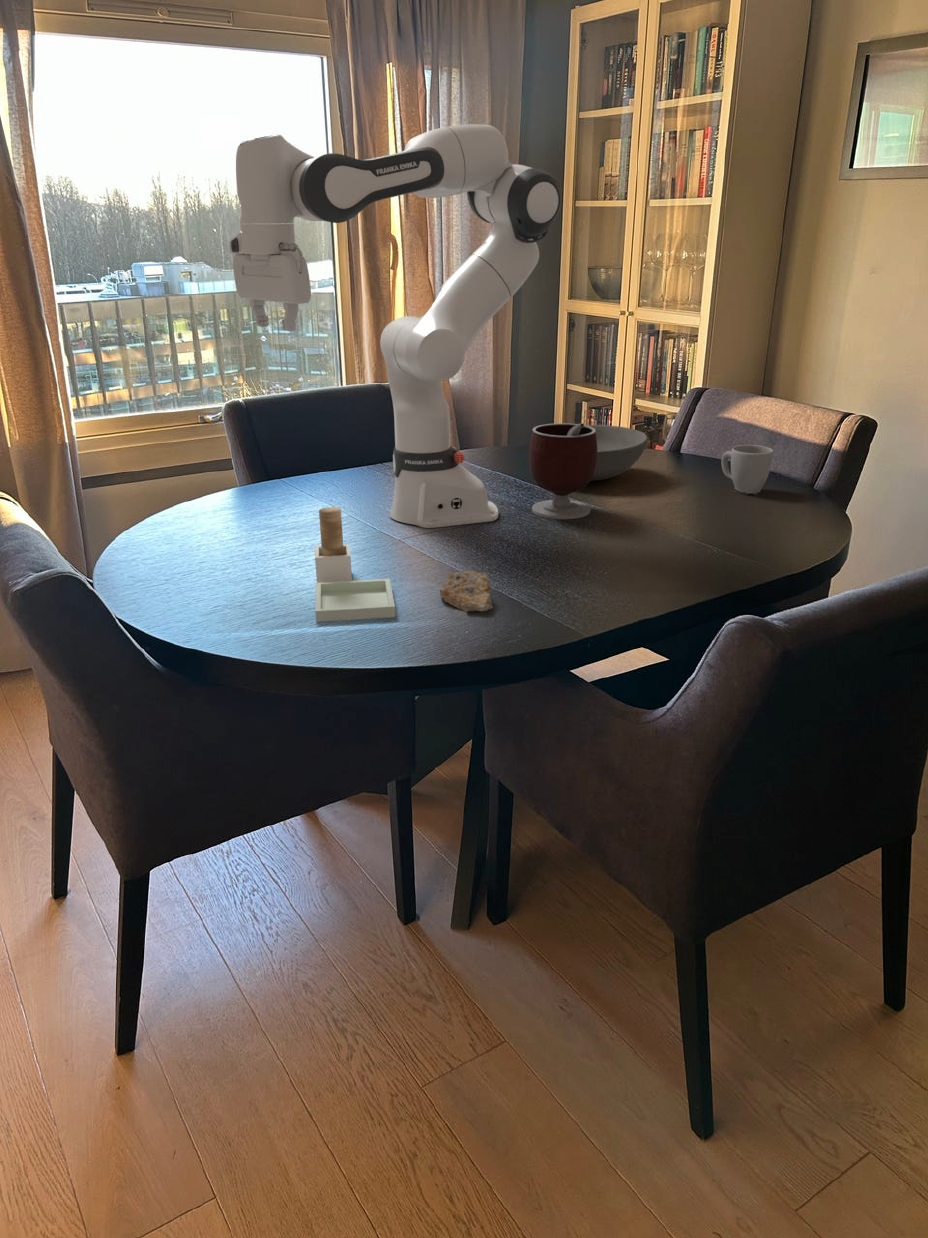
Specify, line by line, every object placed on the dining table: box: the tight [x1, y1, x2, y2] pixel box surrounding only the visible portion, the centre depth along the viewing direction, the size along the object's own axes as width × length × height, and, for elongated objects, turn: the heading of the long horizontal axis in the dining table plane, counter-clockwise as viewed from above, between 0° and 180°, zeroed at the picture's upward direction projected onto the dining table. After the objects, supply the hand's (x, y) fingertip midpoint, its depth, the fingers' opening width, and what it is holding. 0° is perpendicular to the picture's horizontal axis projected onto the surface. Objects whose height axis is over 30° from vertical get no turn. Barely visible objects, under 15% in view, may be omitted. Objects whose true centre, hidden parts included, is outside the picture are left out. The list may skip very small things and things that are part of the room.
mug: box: [720, 444, 774, 493], centre depth 205 cm, size 12×9×10 cm
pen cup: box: [314, 544, 353, 583], centre depth 154 cm, size 6×6×6 cm
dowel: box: [318, 506, 344, 556], centre depth 153 cm, size 4×4×12 cm
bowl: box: [585, 424, 649, 482], centre depth 217 cm, size 26×26×10 cm
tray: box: [314, 578, 396, 623], centre depth 144 cm, size 12×12×2 cm
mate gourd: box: [528, 422, 597, 520], centre depth 189 cm, size 16×14×20 cm
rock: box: [439, 570, 494, 613], centre depth 146 cm, size 9×6×10 cm
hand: (275, 328), depth 160 cm, fingers open, 8 cm apart
